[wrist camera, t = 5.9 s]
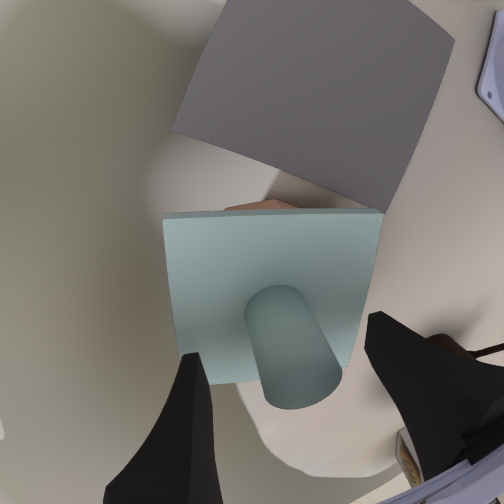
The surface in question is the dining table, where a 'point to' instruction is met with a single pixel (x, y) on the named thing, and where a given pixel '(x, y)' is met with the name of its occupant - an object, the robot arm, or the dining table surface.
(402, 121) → the mat
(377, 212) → the lid
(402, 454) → the cookie box
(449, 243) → the dining table surface
